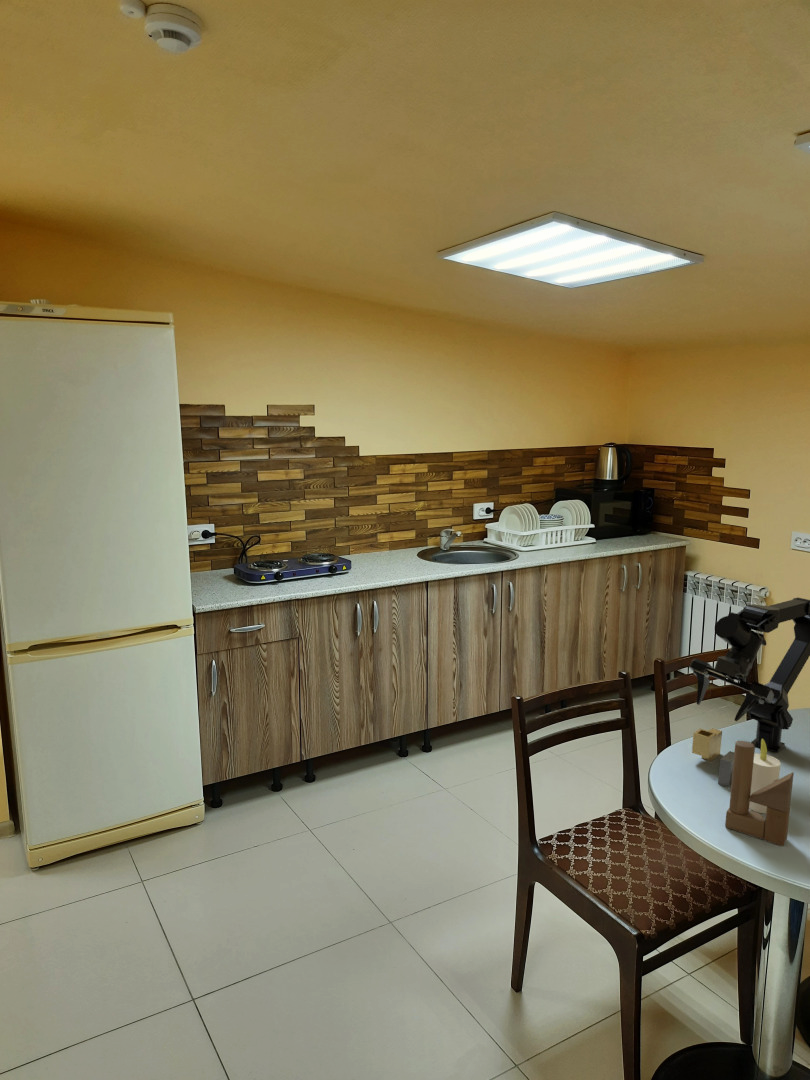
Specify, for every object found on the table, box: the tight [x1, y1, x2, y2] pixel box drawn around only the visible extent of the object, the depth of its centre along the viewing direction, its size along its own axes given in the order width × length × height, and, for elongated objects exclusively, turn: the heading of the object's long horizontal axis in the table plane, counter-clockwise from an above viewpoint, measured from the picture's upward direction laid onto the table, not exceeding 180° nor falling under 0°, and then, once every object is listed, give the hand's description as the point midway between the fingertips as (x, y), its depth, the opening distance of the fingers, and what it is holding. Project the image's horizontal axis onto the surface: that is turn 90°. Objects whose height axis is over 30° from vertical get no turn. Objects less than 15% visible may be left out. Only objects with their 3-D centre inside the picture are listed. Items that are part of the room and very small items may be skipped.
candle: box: [749, 739, 782, 815], centre depth 153 cm, size 6×6×15 cm
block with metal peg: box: [717, 741, 737, 788], centre depth 166 cm, size 10×4×8 cm, turn 136°
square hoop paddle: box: [691, 728, 723, 762], centre depth 176 cm, size 10×4×8 cm, turn 136°
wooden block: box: [724, 740, 794, 847], centre depth 142 cm, size 4×11×18 cm, turn 52°
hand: (716, 712), depth 172 cm, fingers open, 9 cm apart
